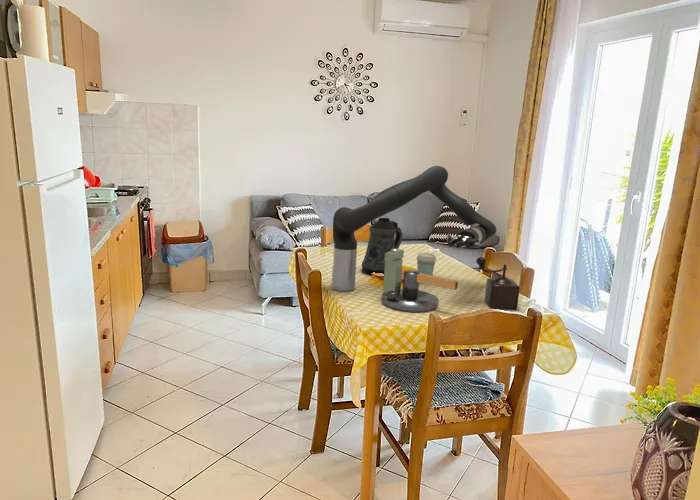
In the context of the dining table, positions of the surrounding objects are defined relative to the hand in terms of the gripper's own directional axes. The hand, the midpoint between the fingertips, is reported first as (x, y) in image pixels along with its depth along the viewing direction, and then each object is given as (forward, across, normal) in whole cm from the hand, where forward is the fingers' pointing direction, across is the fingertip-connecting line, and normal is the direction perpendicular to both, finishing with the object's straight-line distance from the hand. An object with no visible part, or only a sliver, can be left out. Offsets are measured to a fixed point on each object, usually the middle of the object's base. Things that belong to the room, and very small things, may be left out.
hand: (453, 244), depth 200 cm
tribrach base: (+7, -13, +24) cm, 28 cm away
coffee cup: (-24, -21, +24) cm, 40 cm away
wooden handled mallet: (+7, -6, +22) cm, 24 cm away
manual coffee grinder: (-13, +14, +24) cm, 31 cm away
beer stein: (-24, -44, +24) cm, 56 cm away
